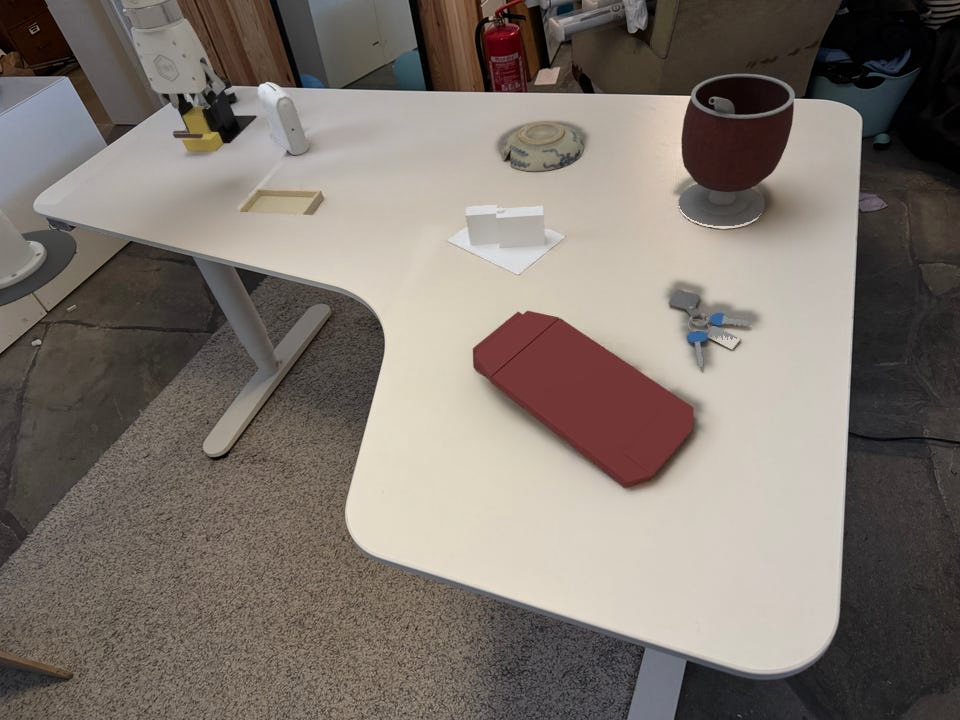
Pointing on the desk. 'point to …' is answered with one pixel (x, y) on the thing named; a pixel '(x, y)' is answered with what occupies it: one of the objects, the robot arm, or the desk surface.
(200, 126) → the butter pat
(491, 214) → the napkin holder
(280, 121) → the photo printer
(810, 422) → the desk surface
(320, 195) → the beige square tray
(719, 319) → the key chain
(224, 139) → the black stand
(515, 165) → the decorative bowl
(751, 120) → the mate gourd
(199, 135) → the grey and brown t-shape
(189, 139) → the butter
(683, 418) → the dark red case
